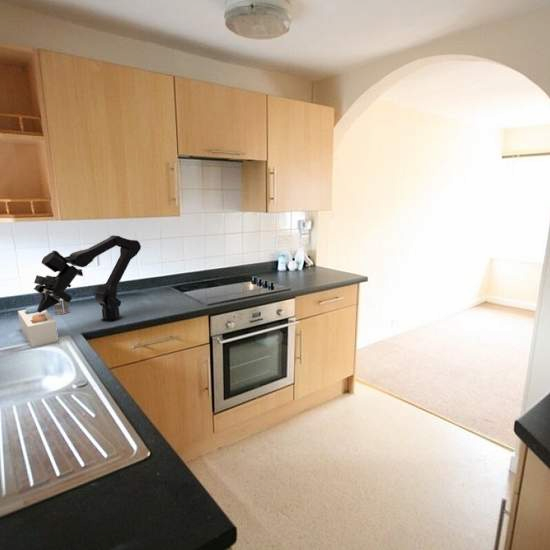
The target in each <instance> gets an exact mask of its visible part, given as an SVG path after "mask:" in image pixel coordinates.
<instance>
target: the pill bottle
mask: <svg viewBox="0 0 550 550" xmlns="http://www.w3.org/2000/svg"><path fill="white" fill-rule="evenodd" d="M59 301H60V303H57V304H55V305H53V306H54V311H55V314H56V315H64V313H65V314H67V313H69V312H70V309H69V303H66V302H64V300H62V299H60V300H59Z"/></svg>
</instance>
